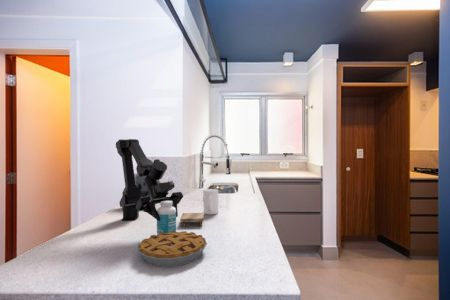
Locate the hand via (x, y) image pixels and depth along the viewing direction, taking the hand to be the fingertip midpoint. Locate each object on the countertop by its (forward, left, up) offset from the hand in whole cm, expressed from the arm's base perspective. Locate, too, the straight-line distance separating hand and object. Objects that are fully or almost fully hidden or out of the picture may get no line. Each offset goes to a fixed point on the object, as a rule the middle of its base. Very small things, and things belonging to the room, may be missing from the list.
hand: (168, 218), depth 101 cm
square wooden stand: (+8, +17, -7) cm, 20 cm away
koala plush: (-24, +56, -7) cm, 61 cm away
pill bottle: (-1, +1, -7) cm, 7 cm away
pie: (+4, -16, -8) cm, 18 cm away
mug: (+16, +34, -7) cm, 38 cm away
